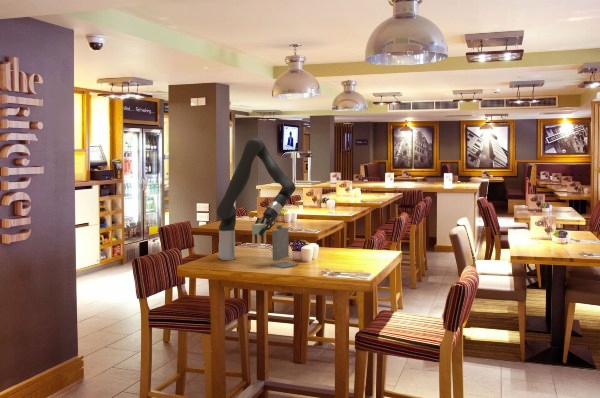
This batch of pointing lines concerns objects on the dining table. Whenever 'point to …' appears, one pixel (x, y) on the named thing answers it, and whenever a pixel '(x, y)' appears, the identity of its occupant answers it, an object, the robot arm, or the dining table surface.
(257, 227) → the stool
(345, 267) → the dining table surface
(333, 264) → the dining table surface
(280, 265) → the slate mat
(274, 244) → the hip flask
